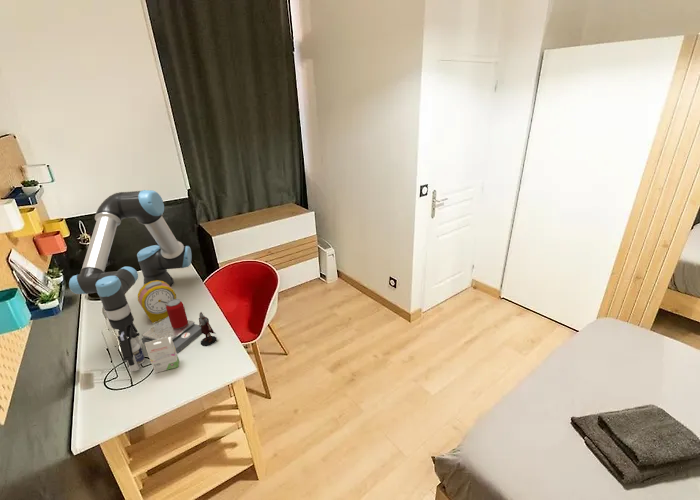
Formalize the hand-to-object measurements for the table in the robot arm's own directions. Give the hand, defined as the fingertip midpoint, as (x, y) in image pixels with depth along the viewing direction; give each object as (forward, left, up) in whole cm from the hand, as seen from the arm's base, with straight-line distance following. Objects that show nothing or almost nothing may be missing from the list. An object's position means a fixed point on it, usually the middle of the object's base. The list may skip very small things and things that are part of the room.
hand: (136, 359), depth 143 cm
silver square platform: (-17, 0, +2) cm, 17 cm away
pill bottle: (0, 0, -1) cm, 1 cm away
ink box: (-2, +14, -1) cm, 14 cm away
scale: (-17, +2, -1) cm, 17 cm away
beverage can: (-21, +3, +3) cm, 21 cm away
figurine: (-20, +19, -1) cm, 28 cm away
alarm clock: (-28, -17, -1) cm, 33 cm away
